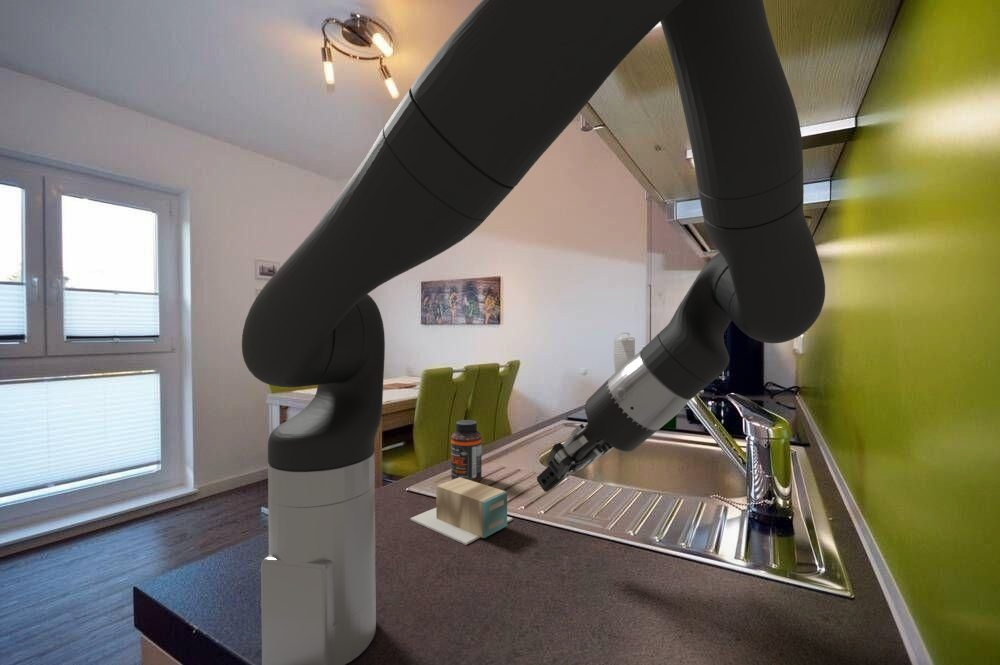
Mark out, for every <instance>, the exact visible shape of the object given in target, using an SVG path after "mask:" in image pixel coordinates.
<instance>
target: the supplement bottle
mask: <svg viewBox="0 0 1000 665" xmlns="http://www.w3.org/2000/svg"><path fill="white" fill-rule="evenodd" d="M477 426H478V425H477V421H475V420H472V419H463V420H458V421H456V423H455V429H456V430H455V432H453V433H452V435H451V436H450V476H451V477H450V479H451V480H453V479H456V478H459V477H461V478H464V479H467V480H471V481H474V482H477V483H479V481H481V480H482V471H483V469H482V465H483V463H482V458H483V457H482V456H483V455H482V451H483V450H482V443H483V442H482V435H481V432H479V431H478V429H477Z"/></svg>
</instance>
